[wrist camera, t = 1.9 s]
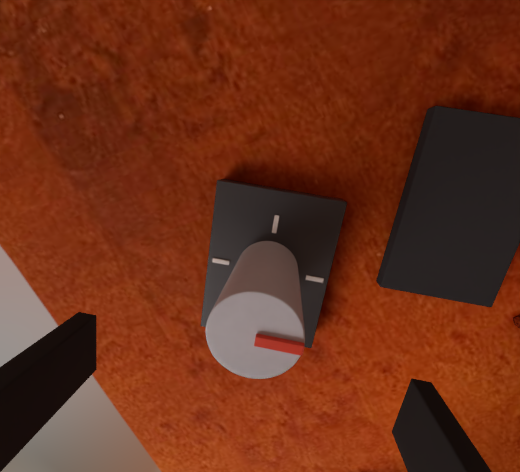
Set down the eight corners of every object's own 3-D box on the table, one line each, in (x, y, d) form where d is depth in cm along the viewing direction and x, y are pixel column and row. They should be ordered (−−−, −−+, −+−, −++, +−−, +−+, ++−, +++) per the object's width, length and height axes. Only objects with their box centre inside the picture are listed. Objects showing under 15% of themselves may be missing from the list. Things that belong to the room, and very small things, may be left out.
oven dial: (233, 291, 23) (198, 372, 14) (241, 235, 21) (209, 285, 12) (291, 302, 22) (294, 393, 14) (303, 246, 21) (315, 305, 12)
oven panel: (223, 178, 22) (216, 180, 20) (342, 199, 22) (347, 202, 20) (207, 314, 26) (200, 327, 24) (309, 334, 25) (311, 349, 23)
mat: (427, 108, 20) (435, 105, 19) (554, 127, 19) (571, 125, 18) (375, 281, 23) (380, 287, 22) (481, 300, 23) (491, 307, 22)
